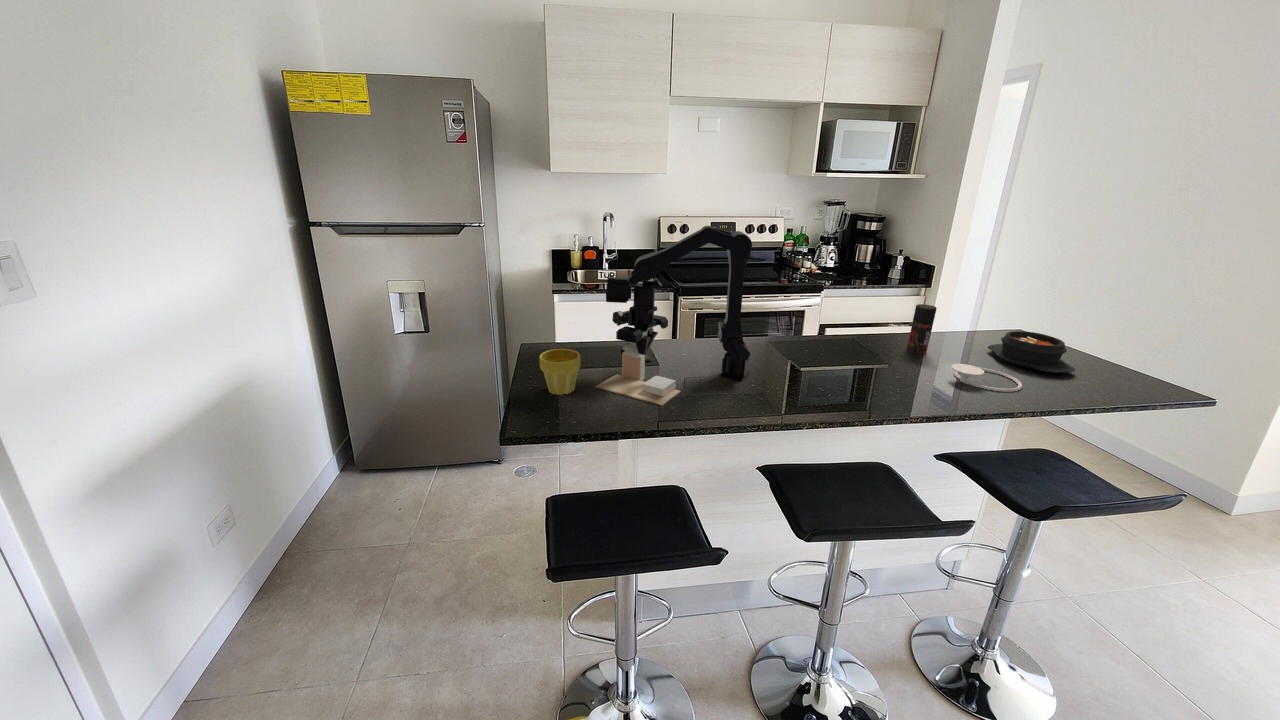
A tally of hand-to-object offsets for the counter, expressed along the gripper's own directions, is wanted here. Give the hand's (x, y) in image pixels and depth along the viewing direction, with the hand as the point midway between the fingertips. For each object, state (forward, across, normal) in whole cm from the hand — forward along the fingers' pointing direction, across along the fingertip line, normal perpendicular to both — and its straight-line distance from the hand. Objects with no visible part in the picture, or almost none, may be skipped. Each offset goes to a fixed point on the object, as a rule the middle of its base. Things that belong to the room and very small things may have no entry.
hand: (642, 357), depth 151 cm
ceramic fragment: (+5, -11, -9) cm, 15 cm away
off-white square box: (+3, +5, +11) cm, 12 cm away
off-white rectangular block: (+5, +5, 0) cm, 7 cm away
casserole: (+5, -77, +96) cm, 123 cm away
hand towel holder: (+5, -51, +84) cm, 98 cm away
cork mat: (+5, +11, +6) cm, 13 cm away
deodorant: (+5, -68, +65) cm, 94 cm away
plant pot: (+5, +23, -11) cm, 26 cm away
